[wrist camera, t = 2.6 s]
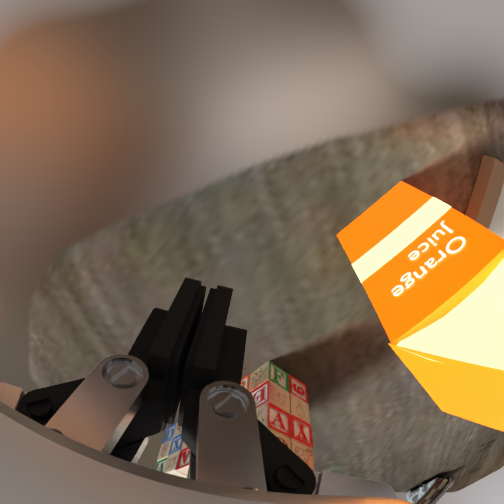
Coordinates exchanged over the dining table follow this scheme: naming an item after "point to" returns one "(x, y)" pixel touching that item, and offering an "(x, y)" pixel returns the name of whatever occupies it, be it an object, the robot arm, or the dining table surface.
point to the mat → (489, 196)
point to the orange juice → (436, 297)
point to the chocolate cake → (430, 491)
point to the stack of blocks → (268, 412)
